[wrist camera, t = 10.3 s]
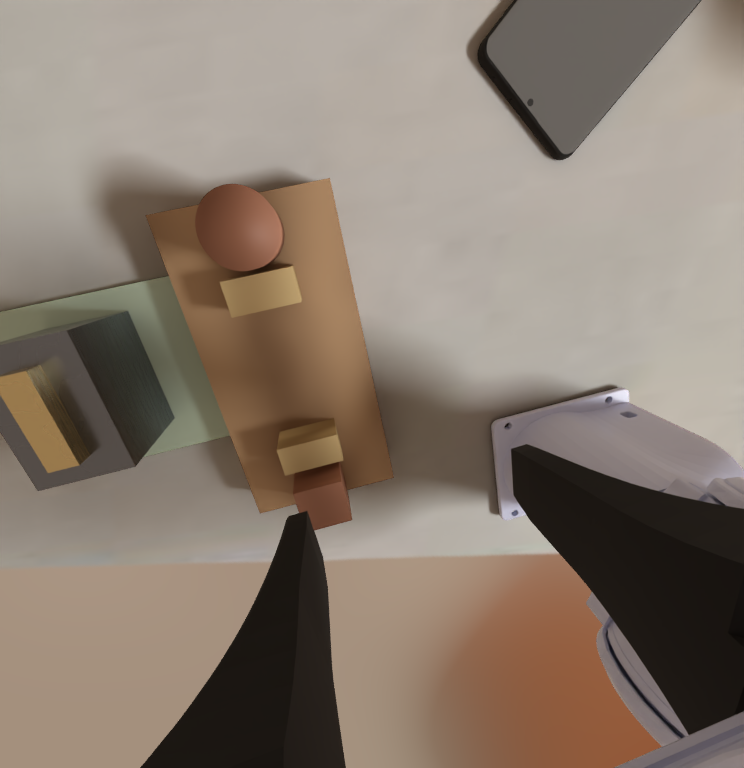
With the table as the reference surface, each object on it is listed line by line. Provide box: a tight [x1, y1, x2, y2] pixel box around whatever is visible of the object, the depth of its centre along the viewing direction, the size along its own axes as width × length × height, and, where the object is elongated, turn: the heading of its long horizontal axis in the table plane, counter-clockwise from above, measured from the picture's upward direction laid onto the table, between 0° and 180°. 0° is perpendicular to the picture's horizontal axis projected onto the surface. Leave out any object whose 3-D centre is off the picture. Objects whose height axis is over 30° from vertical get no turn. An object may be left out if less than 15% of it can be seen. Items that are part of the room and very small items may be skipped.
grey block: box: [0, 311, 175, 491], centre depth 17 cm, size 4×6×6 cm, turn 11°
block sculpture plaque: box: [146, 178, 394, 530], centre depth 19 cm, size 8×16×5 cm, turn 11°
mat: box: [0, 276, 230, 457], centre depth 20 cm, size 9×9×1 cm
